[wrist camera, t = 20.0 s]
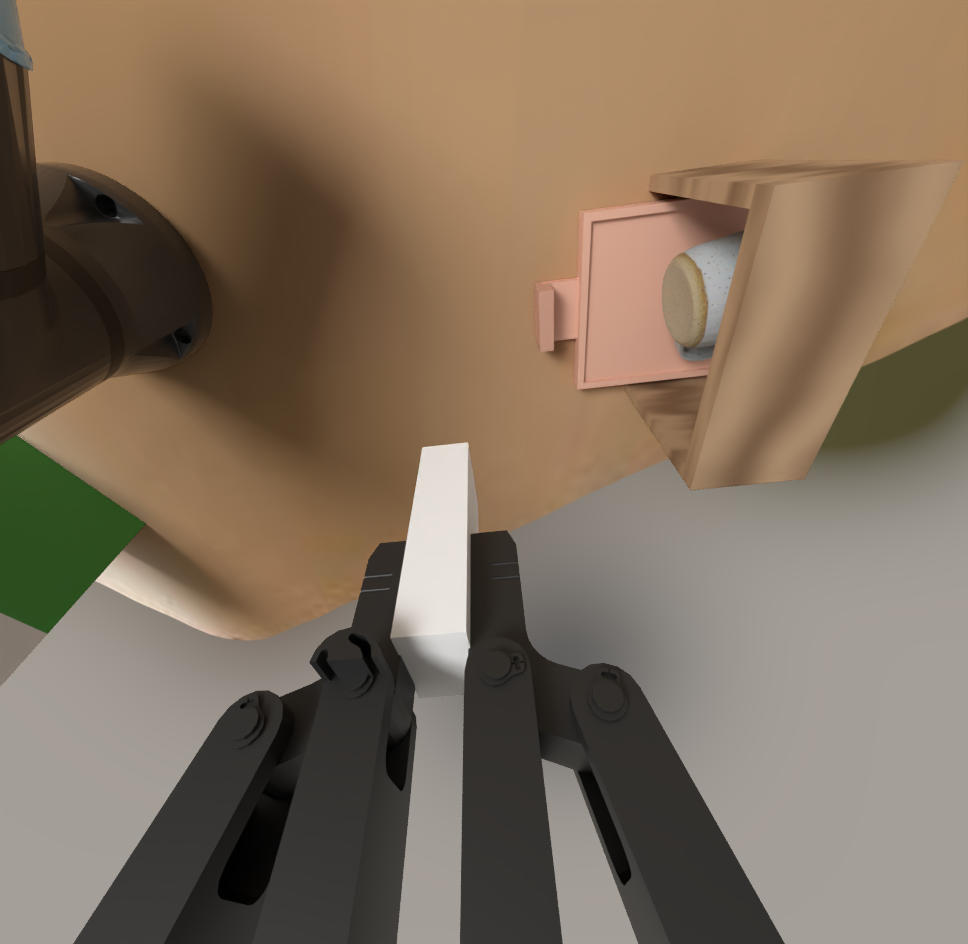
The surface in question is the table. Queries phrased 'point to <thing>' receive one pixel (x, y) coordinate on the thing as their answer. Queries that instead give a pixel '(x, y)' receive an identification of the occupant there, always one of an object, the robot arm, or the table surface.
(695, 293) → the ceramic mug
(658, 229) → the tray
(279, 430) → the table surface
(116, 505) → the hardback book
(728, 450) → the shelf
